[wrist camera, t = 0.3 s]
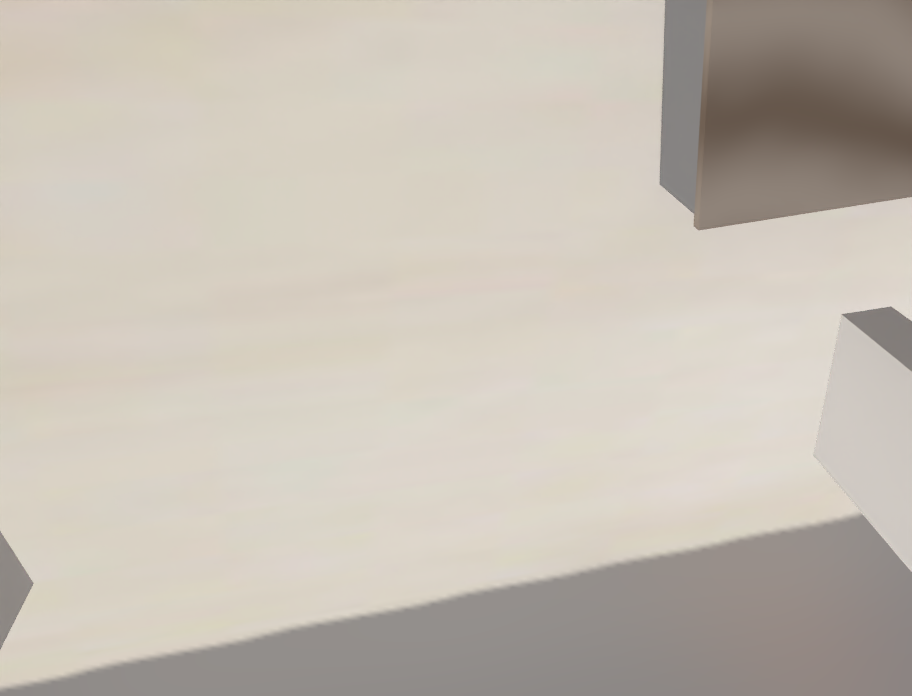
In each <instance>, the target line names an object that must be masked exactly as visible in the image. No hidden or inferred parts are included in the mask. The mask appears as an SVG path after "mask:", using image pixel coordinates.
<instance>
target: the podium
mask: <svg viewBox="0 0 912 696" xmlns="http://www.w3.org/2000/svg"><path fill="white" fill-rule="evenodd" d="M660 185H661V186H662V187H663V188H665V189H666V190H667V191H668V192H669V193H670V194H672V195H673V196H674V197H675V198H676V199H677V200H679V201H680V202H681V203H682V204H683V205H684V206H686V207H687V208H688V209H689V210H690V211H691V212H693V213H694V227H696V228H697V229H698V230H704V229H710V228H716V227H723V226H729V225H735V224H742V223H748V222H755V221H761V220H767V219H774V218H780V217H786V216H793V215H799V214H805V213H812V212H818V211H824V210H831V209H837V208H844V207H850V206H856V205H863V204H869V203H875V202H882V201H888V200H894V199H901V198H907V197H912V0H665V32H664V65H663V97H662V129H661V161H660Z"/></svg>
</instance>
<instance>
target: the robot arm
mask: <svg viewBox="0 0 912 696" xmlns="http://www.w3.org/2000/svg"><path fill="white" fill-rule="evenodd" d="M813 456H814V457H815V458H816V459H817V461H818V462H819V463H820V464H821V465H822V467H823V468H824V469H825V470H826V471H827V472H828V474H829V475H830V476H831V477H832V478H833V480H834V481H835V482H836V483H837V484H838V485H839V487H840V488H841V489H842V490H843V491H844V493H845V494H846V495H847V496H848V497H849V499H850V500H851V501H852V502H853V503H854V504H855V506H856V507H857V508H858V509H859V510H860V512H861V513H862V514H863V515H864V516H865V517H866V519H867V520H868V521H869V522H870V523H871V524H872V526H873V527H874V528H875V529H876V530H877V532H878V533H879V534H880V535H881V536H882V538H883V539H884V540H885V541H886V542H887V543H888V545H889V546H890V547H891V548H892V549H893V551H894V552H895V553H896V554H897V555H898V556H899V558H900V559H901V560H902V561H903V562H904V563H905V565H906V566H907V567H908V568H909V570H910V571H911V572H912V321H910V320H909V319H908V318H906V317H905V316H903V315H902V314H901V313H899V312H898V311H896V310H895V309H894V308H892V307H886V308H879V309H873V310H867V311H860V312H854V313H847V314H842V315H841V320H840V325H839V330H838V335H837V340H836V345H835V350H834V355H833V360H832V365H831V370H830V375H829V380H828V385H827V390H826V395H825V400H824V405H823V410H822V415H821V420H820V425H819V430H818V435H817V440H816V445H815V450H814V455H813ZM32 585H33V582H32V580H31V579H30V577H29V575H28V574H27V572H26V571H25V569H24V568H23V566H22V564H21V563H20V561H19V560H18V558H17V557H16V555H15V553H14V552H13V550H12V549H11V547H10V546H9V544H8V542H7V541H6V539H5V538H4V536H3V535H2V533H1V532H0V649H1V647H2V645H3V643H4V641H5V639H6V637H7V635H8V633H9V631H10V629H11V627H12V625H13V623H14V621H15V619H16V617H17V615H18V613H19V611H20V609H21V607H22V605H23V603H24V601H25V599H26V597H27V595H28V593H29V591H30V589H31V587H32Z"/></svg>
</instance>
